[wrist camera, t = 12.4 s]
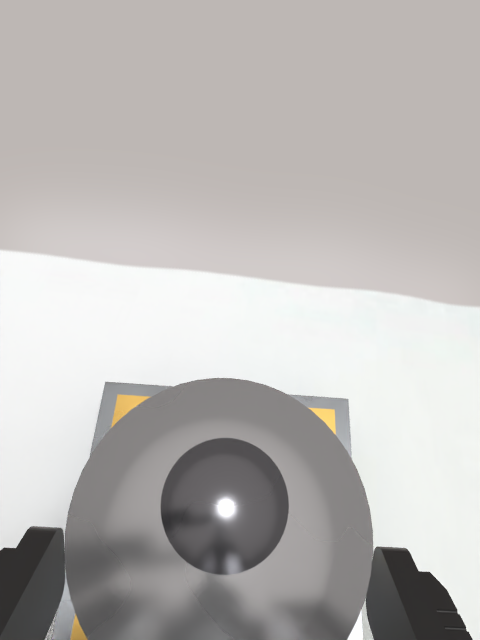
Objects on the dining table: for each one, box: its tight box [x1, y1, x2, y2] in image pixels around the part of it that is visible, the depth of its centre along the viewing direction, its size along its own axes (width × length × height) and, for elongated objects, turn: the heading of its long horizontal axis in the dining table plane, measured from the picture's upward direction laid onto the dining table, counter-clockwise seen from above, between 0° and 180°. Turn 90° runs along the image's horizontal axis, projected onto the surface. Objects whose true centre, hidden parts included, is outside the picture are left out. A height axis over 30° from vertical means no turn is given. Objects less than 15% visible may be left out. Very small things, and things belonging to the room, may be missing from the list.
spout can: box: [64, 378, 373, 640], centre depth 12 cm, size 5×5×15 cm
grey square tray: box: [52, 382, 363, 640], centre depth 20 cm, size 12×14×4 cm
